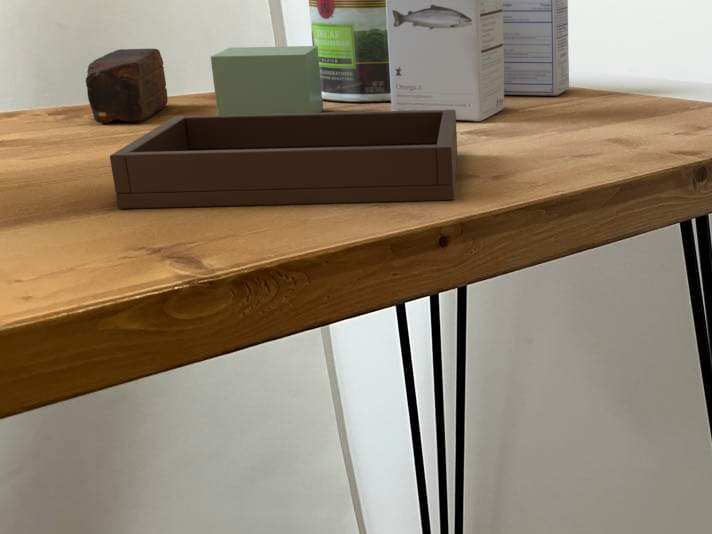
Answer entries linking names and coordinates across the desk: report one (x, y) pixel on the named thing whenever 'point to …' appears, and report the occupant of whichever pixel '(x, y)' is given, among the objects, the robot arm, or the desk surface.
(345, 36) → the coffee can
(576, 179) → the desk surface
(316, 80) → the base block
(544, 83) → the medicine box
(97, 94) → the brick
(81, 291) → the desk surface
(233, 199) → the tray
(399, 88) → the white packaging box
